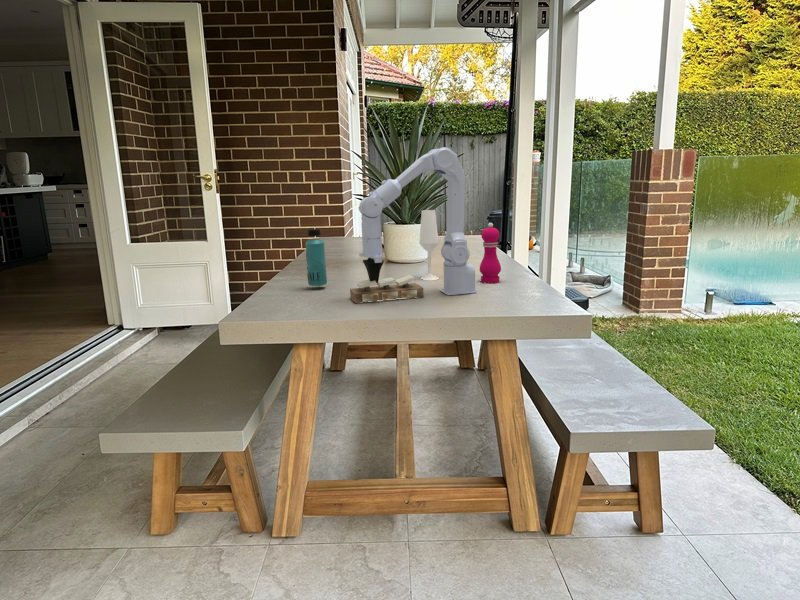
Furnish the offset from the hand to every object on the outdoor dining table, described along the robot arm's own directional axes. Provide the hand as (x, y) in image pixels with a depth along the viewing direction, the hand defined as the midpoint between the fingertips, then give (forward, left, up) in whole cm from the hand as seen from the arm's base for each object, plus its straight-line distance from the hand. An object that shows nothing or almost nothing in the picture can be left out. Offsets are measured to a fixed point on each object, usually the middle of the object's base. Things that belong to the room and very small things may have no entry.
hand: (374, 283), depth 166 cm
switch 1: (+2, 0, 0) cm, 2 cm away
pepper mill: (-43, -10, -5) cm, 44 cm away
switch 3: (-10, 0, 0) cm, 10 cm away
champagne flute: (-26, -24, -5) cm, 36 cm away
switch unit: (-4, 0, -5) cm, 6 cm away
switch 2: (-4, 0, 0) cm, 4 cm away
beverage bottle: (+14, -23, -5) cm, 28 cm away
